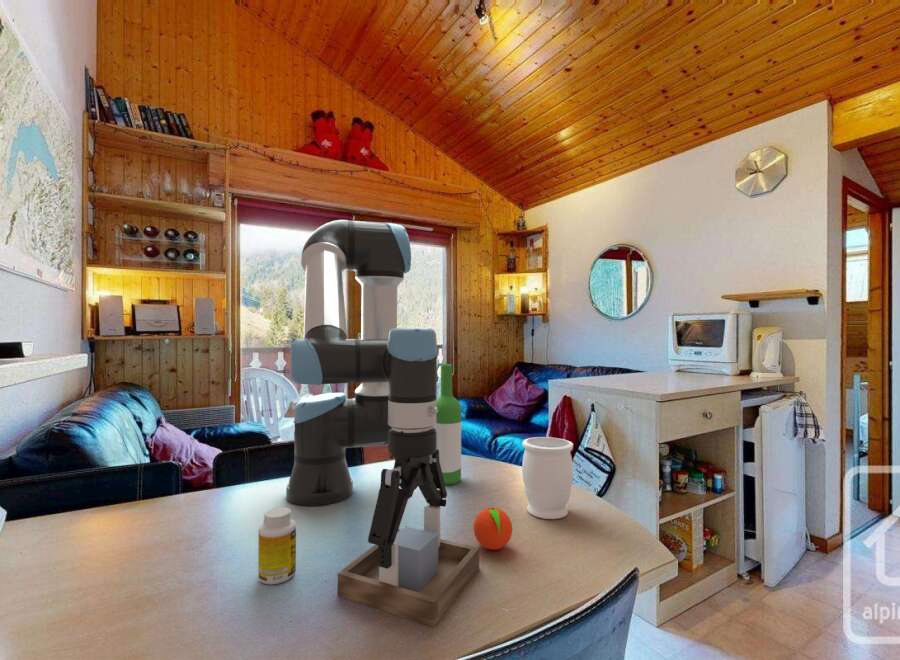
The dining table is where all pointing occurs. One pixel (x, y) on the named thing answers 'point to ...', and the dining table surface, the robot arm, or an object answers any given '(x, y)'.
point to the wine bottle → (448, 429)
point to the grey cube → (416, 557)
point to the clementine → (492, 528)
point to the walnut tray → (418, 606)
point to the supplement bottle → (277, 546)
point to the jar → (547, 476)
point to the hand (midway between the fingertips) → (412, 564)
